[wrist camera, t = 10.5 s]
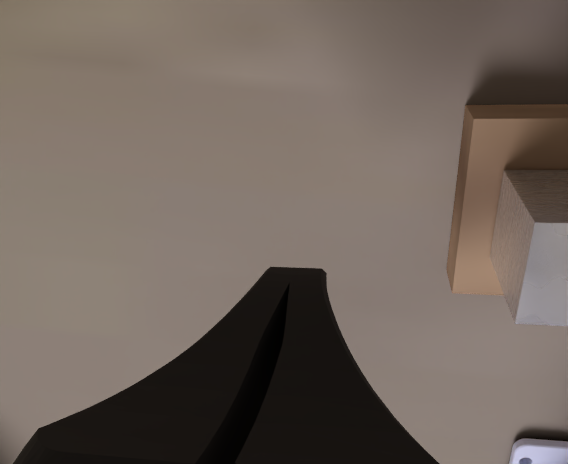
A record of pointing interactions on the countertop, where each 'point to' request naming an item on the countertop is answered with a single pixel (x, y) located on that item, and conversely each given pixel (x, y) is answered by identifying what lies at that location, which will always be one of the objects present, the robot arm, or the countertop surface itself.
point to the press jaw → (533, 245)
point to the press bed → (496, 180)
